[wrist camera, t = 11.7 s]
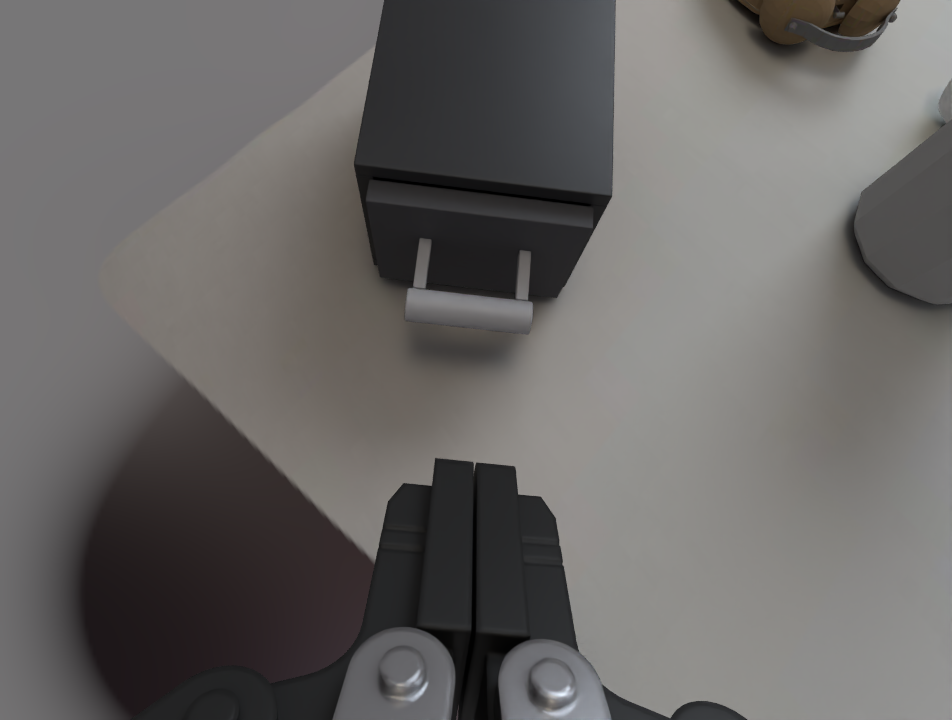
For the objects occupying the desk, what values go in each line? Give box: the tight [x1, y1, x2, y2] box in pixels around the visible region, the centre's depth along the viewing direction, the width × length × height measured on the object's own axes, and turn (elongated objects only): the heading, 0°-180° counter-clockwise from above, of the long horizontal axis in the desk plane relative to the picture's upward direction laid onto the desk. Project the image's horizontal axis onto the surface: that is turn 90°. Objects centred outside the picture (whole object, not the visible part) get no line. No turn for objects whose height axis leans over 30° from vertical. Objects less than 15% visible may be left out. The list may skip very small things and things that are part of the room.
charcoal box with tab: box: [354, 0, 616, 287], centre depth 32 cm, size 14×12×10 cm
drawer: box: [366, 179, 593, 334], centre depth 31 cm, size 17×10×8 cm, turn 175°
